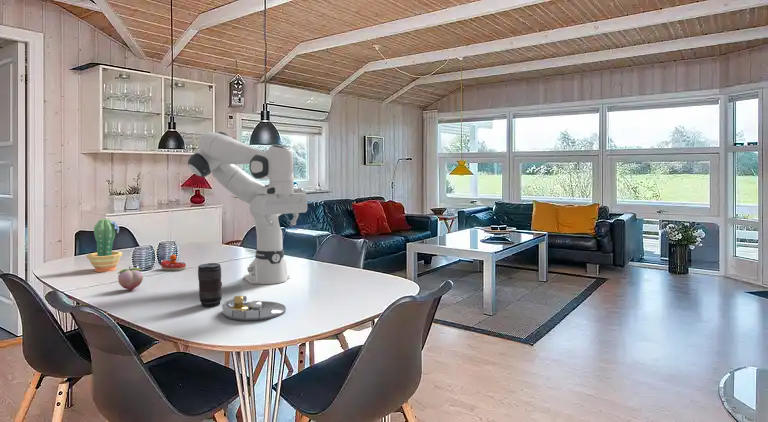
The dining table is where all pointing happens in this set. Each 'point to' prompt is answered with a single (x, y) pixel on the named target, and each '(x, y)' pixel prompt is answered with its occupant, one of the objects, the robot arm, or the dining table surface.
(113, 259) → the potted cactus
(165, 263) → the toy boat
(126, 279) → the decorative fruit
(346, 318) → the dining table surface
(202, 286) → the camera lens
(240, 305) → the planet gear
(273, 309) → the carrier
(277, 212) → the robot arm
